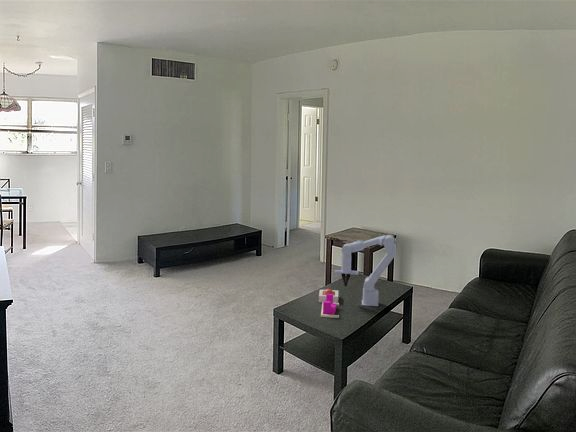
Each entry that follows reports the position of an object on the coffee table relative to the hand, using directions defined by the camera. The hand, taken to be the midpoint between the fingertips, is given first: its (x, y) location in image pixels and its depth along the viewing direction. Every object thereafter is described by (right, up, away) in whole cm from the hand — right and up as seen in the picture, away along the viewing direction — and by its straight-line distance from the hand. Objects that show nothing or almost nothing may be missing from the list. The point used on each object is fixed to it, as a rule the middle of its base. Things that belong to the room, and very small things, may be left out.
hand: (345, 285), depth 284 cm
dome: (-10, -8, +5) cm, 14 cm away
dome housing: (-10, -9, +5) cm, 14 cm away
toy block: (-10, -13, -13) cm, 21 cm away
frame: (-10, -12, -14) cm, 21 cm away
